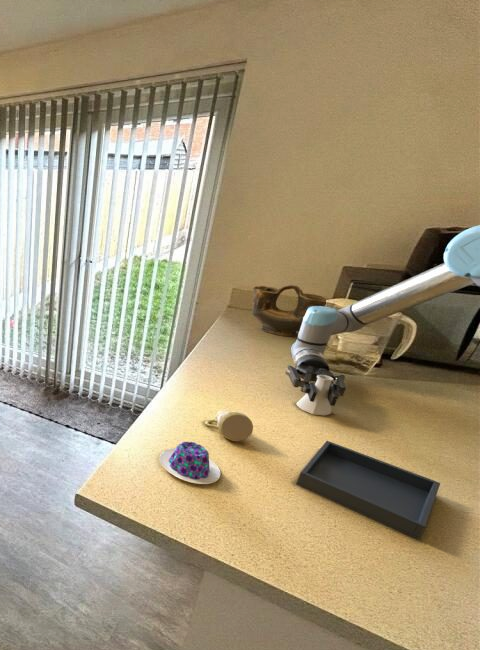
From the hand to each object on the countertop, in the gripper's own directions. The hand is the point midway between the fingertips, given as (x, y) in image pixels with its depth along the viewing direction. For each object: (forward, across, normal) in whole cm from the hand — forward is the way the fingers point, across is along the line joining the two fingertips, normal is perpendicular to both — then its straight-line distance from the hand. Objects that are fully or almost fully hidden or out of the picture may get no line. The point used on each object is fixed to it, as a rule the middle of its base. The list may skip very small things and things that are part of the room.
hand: (323, 399), depth 102 cm
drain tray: (+28, -4, -6) cm, 29 cm away
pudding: (+39, +27, -6) cm, 48 cm away
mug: (+19, +20, -6) cm, 28 cm away
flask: (-5, 0, -6) cm, 8 cm away
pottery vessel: (-73, +4, -6) cm, 74 cm away
